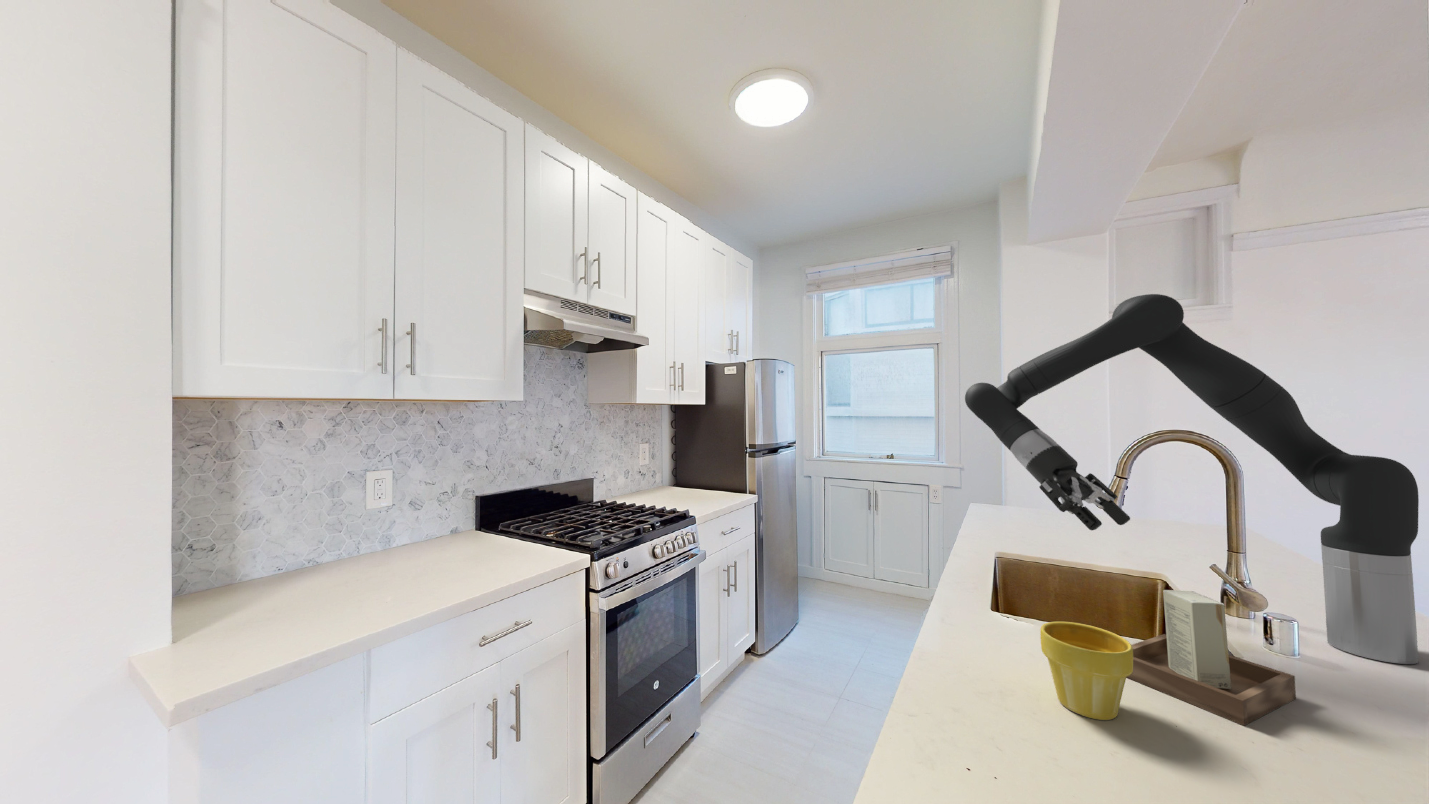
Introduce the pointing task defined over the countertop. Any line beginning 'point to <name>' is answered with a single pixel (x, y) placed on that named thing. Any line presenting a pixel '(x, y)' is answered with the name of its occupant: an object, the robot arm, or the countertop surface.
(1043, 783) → the countertop surface
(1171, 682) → the walnut tray
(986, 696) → the countertop surface
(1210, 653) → the skincare box
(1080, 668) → the plant pot
